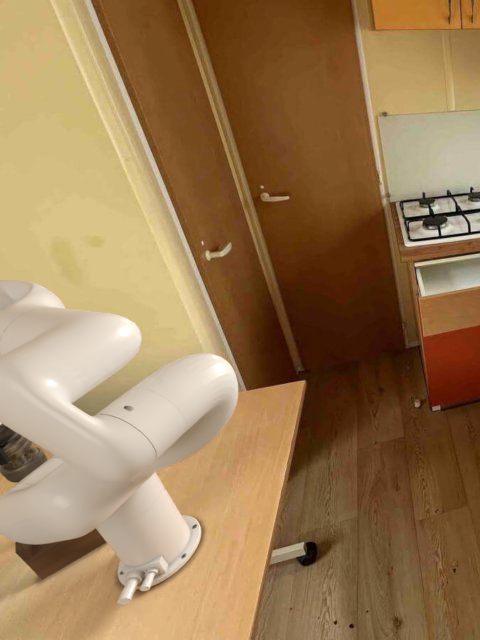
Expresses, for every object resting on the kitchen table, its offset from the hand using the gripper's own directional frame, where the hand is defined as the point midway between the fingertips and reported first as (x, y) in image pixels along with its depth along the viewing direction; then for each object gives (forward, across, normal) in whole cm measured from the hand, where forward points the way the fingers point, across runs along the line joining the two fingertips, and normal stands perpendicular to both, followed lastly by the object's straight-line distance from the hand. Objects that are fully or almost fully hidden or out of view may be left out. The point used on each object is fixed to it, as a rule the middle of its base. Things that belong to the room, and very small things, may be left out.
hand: (11, 447), depth 72 cm
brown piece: (+25, -1, +1) cm, 25 cm away
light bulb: (+10, 0, 0) cm, 10 cm away
